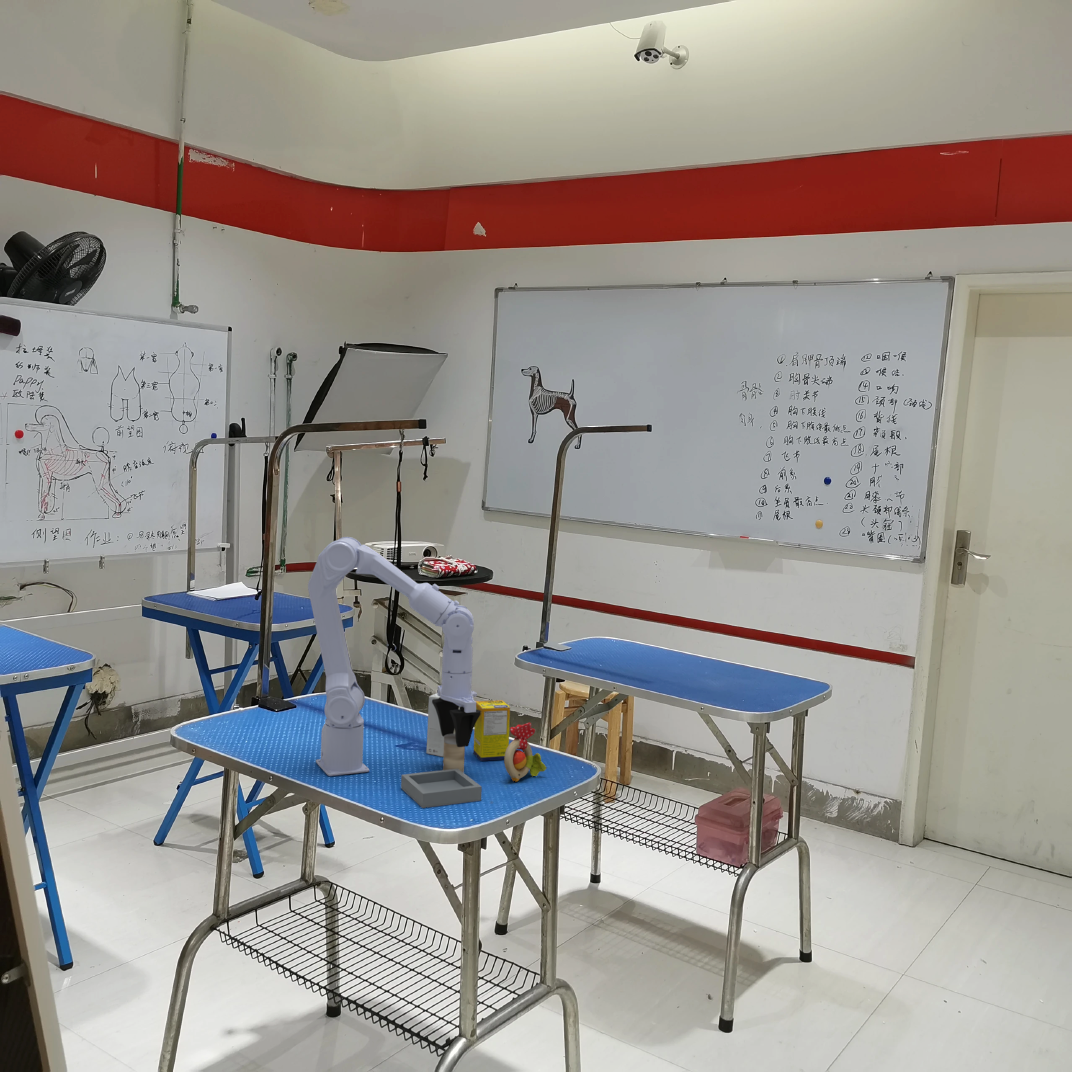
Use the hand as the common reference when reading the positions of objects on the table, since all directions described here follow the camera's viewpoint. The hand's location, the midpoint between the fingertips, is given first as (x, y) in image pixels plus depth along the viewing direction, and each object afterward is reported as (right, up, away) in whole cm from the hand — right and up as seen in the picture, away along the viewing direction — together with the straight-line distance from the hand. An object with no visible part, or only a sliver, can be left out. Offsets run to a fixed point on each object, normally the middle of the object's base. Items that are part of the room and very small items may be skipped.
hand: (454, 740), depth 192 cm
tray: (-2, -7, -13) cm, 14 cm away
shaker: (0, -6, 0) cm, 6 cm away
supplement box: (+6, -6, +12) cm, 14 cm away
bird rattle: (+13, -7, -1) cm, 15 cm away
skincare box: (-4, -5, +13) cm, 15 cm away
